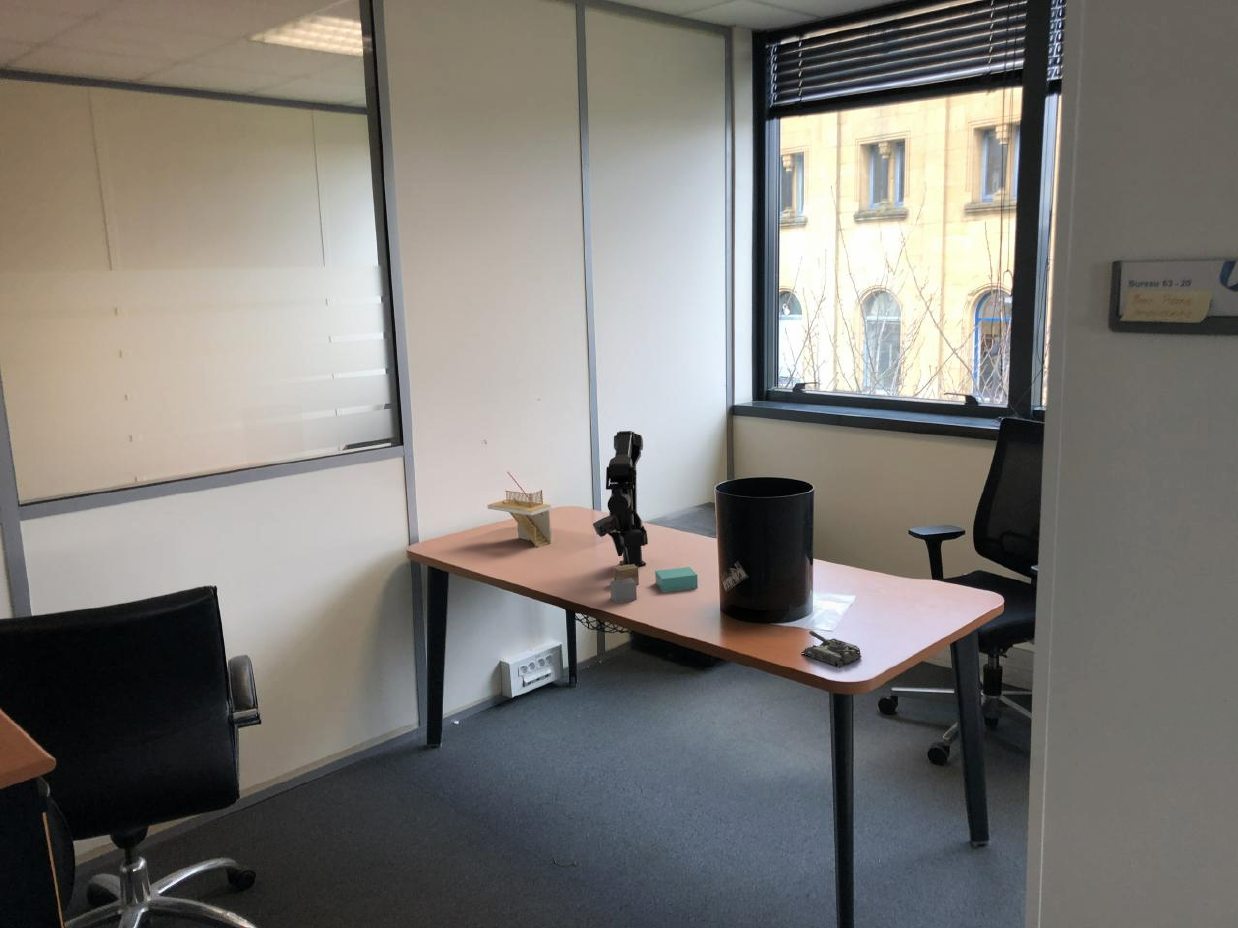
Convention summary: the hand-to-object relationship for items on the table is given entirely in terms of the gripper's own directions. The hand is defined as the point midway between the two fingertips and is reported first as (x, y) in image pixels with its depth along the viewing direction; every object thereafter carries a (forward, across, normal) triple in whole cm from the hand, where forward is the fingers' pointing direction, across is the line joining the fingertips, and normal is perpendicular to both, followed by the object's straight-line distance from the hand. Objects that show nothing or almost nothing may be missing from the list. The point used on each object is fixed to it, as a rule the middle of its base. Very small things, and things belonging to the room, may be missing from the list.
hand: (625, 560), depth 272 cm
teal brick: (+7, +8, +12) cm, 16 cm away
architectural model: (+8, -57, -14) cm, 59 cm away
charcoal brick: (+7, +12, -5) cm, 15 cm away
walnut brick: (+7, 0, 0) cm, 7 cm away
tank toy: (+7, +71, +23) cm, 75 cm away
